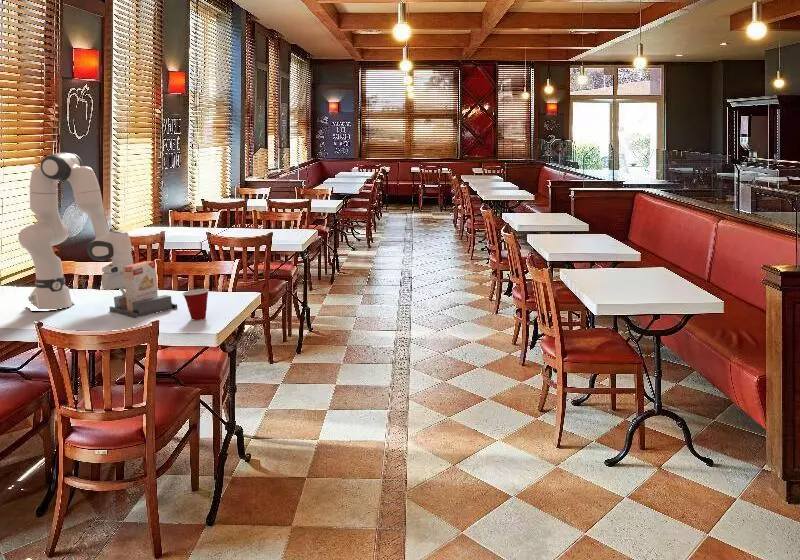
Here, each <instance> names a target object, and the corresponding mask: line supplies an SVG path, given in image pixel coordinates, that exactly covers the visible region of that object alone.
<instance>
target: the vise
mask: <svg viewBox="0 0 800 560" xmlns="http://www.w3.org/2000/svg"><path fill="white" fill-rule="evenodd" d="M132 304H133V312H131V311H127V310H123V309H120V308H116V307H115V306H112V305H111V306H109V307H108V308H109V312H112V313H115V314H118V315H122V316H126V317H130V318H134V319H138V318H140V317H141V318H142V317H145V316H148V315H149V314H150V315H153V313H154V314H157V313H156V312H159V313H161V312H160V311H163V312H166V311H165V310H167V311H169V310H168V309H172V310H173V308H177V309H178V304H177V303H173V302H172V296H171V295H168V294H164V295H158V297H153V298H149V299H144V300H139V301H135V302H132ZM150 315H149V316H150Z"/></svg>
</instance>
